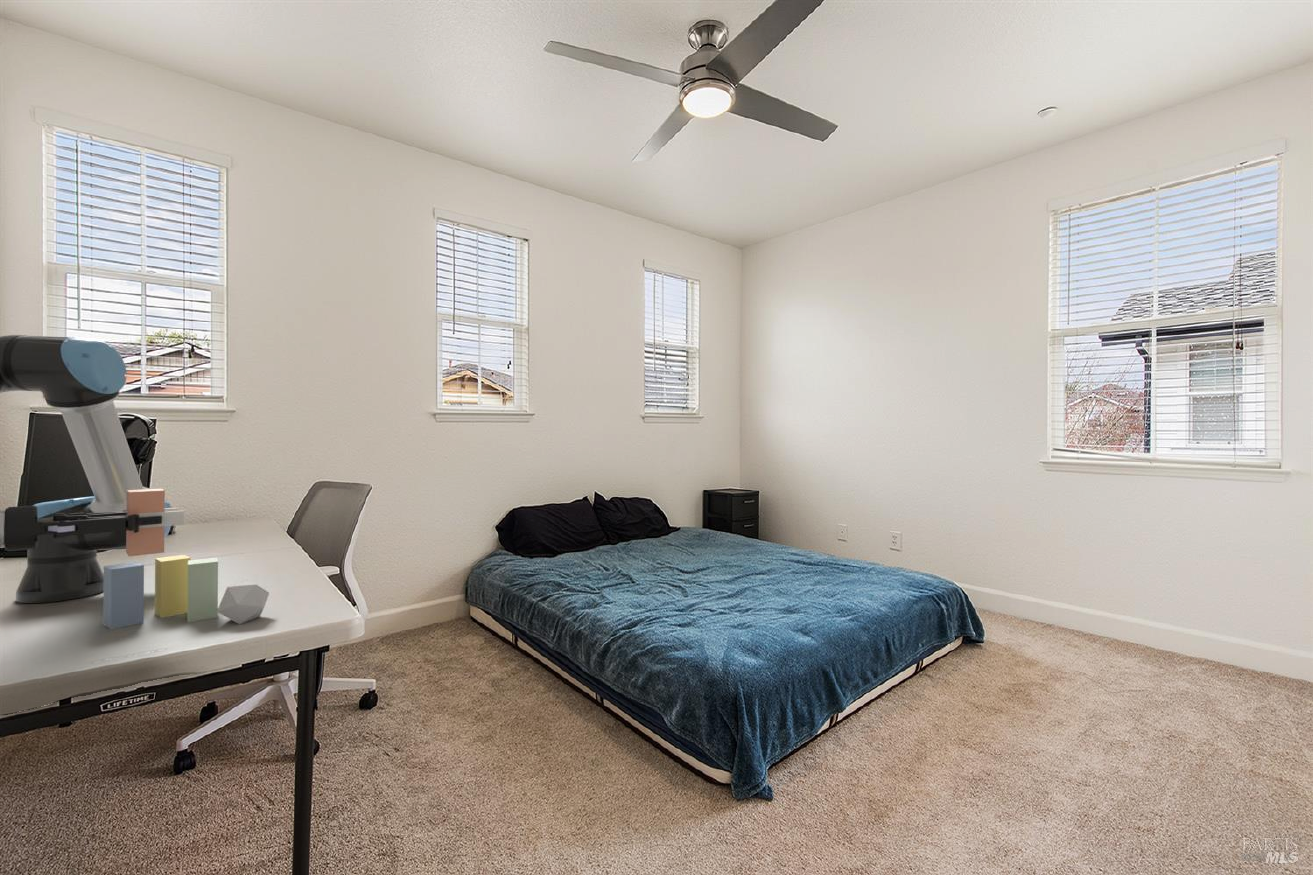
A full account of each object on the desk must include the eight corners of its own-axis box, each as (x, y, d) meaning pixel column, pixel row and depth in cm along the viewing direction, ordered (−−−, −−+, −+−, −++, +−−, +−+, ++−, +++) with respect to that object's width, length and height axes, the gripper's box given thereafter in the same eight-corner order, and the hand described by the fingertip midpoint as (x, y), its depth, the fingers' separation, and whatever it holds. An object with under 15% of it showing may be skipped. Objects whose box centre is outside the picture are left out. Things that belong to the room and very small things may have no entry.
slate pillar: (103, 624, 116) (103, 566, 116) (135, 617, 121) (135, 561, 121) (111, 629, 114) (111, 569, 114) (143, 622, 118) (143, 564, 118)
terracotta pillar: (126, 552, 109) (126, 490, 109) (160, 548, 113) (160, 488, 112) (128, 556, 105) (129, 492, 105) (164, 552, 109) (164, 490, 109)
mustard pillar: (154, 613, 124) (155, 558, 124) (183, 607, 128) (184, 554, 128) (160, 617, 121) (161, 561, 121) (190, 612, 125) (190, 557, 125)
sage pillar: (187, 615, 122) (187, 560, 122) (216, 611, 125) (217, 557, 125) (187, 621, 118) (187, 564, 118) (217, 617, 122) (218, 561, 121)
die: (274, 622, 120) (280, 580, 126) (238, 613, 113) (246, 568, 119) (241, 634, 121) (248, 591, 127) (203, 625, 114) (213, 581, 120)
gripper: (5, 544, 102) (173, 529, 119) (0, 559, 90) (188, 540, 107) (5, 502, 102) (174, 493, 119) (0, 512, 90) (189, 501, 107)
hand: (180, 515), depth 113 cm, fingers closed on terracotta pillar, 5 cm apart
